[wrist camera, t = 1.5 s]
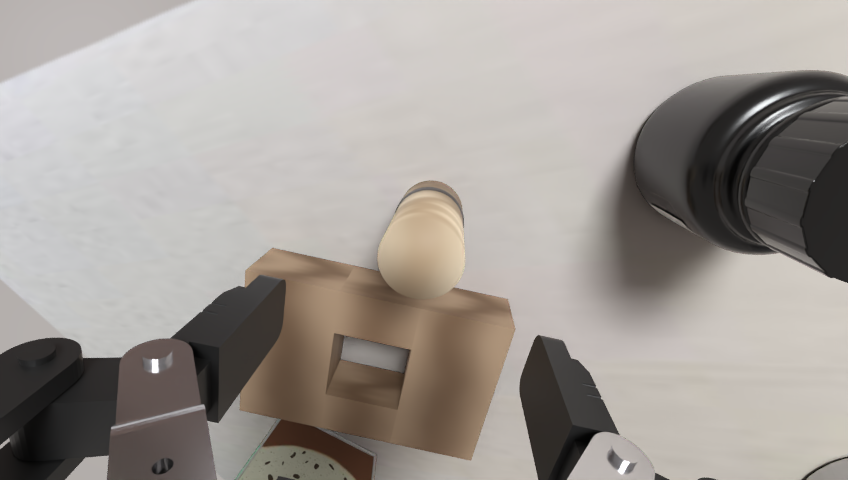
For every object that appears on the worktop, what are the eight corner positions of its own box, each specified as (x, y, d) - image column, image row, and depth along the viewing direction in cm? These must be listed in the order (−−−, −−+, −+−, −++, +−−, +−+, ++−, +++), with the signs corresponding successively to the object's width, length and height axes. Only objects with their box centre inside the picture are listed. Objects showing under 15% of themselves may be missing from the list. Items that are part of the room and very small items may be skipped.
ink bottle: (637, 238, 27) (768, 341, 16) (609, 112, 24) (742, 127, 13) (795, 190, 25) (1070, 268, 14) (783, 48, 22) (1112, 2, 11)
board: (507, 299, 29) (515, 329, 25) (469, 419, 33) (470, 460, 30) (272, 248, 29) (245, 270, 25) (263, 374, 33) (239, 410, 30)
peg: (468, 181, 26) (476, 228, 17) (455, 236, 28) (454, 308, 18) (409, 168, 26) (384, 208, 17) (398, 224, 28) (370, 290, 18)
